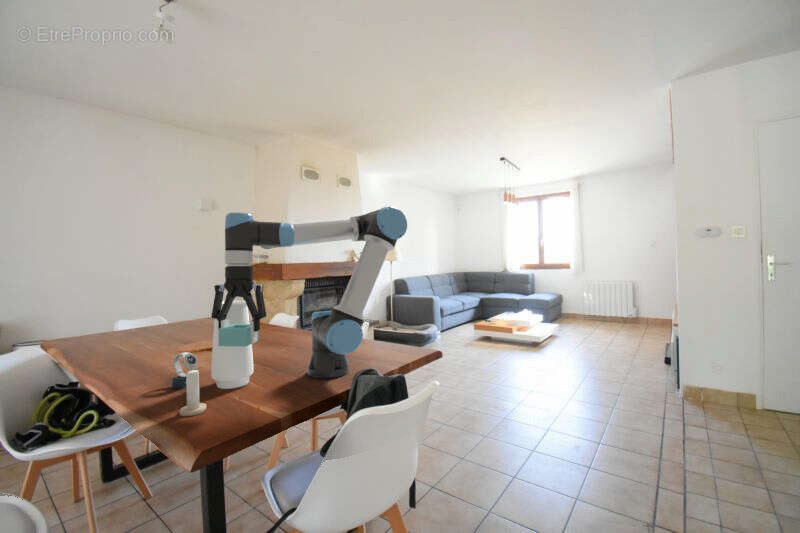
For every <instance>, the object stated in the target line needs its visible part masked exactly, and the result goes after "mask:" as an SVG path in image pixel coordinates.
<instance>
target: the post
mask: <svg viewBox="0 0 800 533" xmlns="http://www.w3.org/2000/svg"><path fill="white" fill-rule="evenodd" d="M199 372H200V371H199V370H197V369H196V370H193V371H190V370H187V372H186V373H185V374H186V384H187V387H186V405H185V406H183V407H180V409H179V416H182V417H194V416H197V415H199V414H203V413H204V412H206V411H207V404H206V403H202V402H200V373H199Z"/></svg>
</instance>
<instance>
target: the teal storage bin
mask: <svg viewBox="0 0 800 533" xmlns="http://www.w3.org/2000/svg"><path fill="white" fill-rule="evenodd" d="M258 341H259V331H257V342H258ZM250 344H252V345H253V343H251V327H250V324H232V325H228V326H225V327H222V328H219V346H248V345H250Z"/></svg>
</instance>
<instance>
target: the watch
mask: <svg viewBox="0 0 800 533" xmlns="http://www.w3.org/2000/svg"><path fill="white" fill-rule="evenodd" d="M180 357H181V358H182V364H183V366H184V367H186V368H187V371H193V370H197V368H198V364H199V360H198V359H199V358H198V357H197V355H195V354H194V353H191V352H188V351H185V352H181V353H177V354H175V356H174V357H173V360H172V368H173V370H174V372H175V374H176V375H178V376H175V377H172V389H174V388H175V389H185V388H186V389H187V384H186V373H185V372H184V370H183V367H182V366H181V365H182V364H181V363H180Z"/></svg>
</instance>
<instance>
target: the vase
mask: <svg viewBox="0 0 800 533" xmlns="http://www.w3.org/2000/svg"><path fill="white" fill-rule="evenodd" d="M224 302H225V300H222V306H223V304H224ZM213 304H214V302H213V303H212V305H213ZM222 306H221V309H222ZM249 313H250V312H249V309H248V306H247V304H246V302H245V300H244V299H243V300H239V299H238V300H235V299H234V300H233V302H232V305H231V307H230V309H229V312H228V314H227V316H226V319H225V320H228V325H232V324H250V317H249V316H250V315H249ZM212 333H213V334H212V335H213V336H212V350H211V351H212V353H211V354H212V355H211V369H210V370H211V371H210V372H211V379H212V380H214V382H215V384H216V388H219V389H220V390H230V389H237V388H241V387H244V386H246V385H248V383H250V382H249V381H250V378H251V375H252V374H254V367H255V366H254V355H253V343H252V344H250V345H248V346H219V330H218V320H217V319H215V318H213V332H212Z"/></svg>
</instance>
